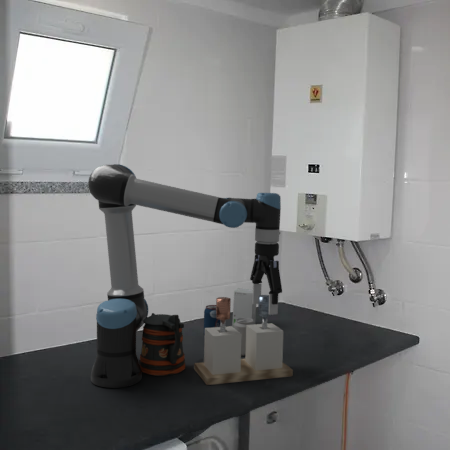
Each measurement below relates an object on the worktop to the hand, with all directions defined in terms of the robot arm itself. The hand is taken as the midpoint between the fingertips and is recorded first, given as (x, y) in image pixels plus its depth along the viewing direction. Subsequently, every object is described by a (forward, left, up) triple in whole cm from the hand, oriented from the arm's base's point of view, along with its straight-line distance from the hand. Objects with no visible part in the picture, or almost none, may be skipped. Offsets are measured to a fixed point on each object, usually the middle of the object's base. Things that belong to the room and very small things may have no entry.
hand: (264, 308), depth 187 cm
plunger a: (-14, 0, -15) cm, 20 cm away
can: (0, +18, -20) cm, 27 cm away
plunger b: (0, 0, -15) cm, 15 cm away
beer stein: (-30, +8, -20) cm, 37 cm away
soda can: (-5, +38, -20) cm, 43 cm away
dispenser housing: (-7, 0, -18) cm, 19 cm away
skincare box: (+11, +47, -20) cm, 52 cm away
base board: (-7, 0, -20) cm, 21 cm away
